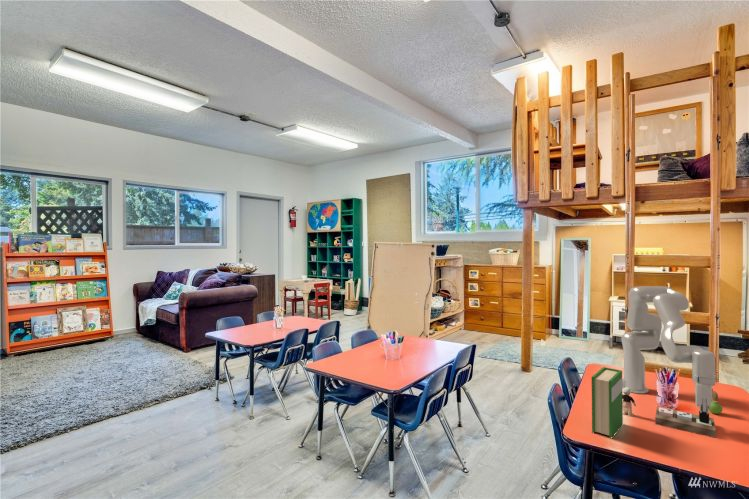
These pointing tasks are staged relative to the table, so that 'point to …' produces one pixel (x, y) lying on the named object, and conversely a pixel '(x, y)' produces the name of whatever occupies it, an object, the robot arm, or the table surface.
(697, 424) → the counting board
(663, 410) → the two dot tile
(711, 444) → the table surface
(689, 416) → the three dot tile
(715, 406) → the snail figurine
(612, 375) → the hardback book
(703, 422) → the cream knobbed tile
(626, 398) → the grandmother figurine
